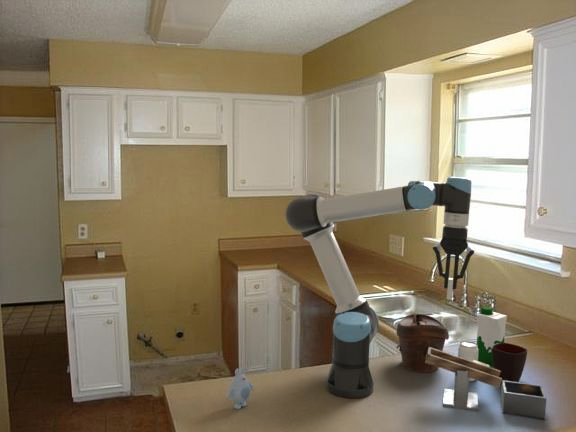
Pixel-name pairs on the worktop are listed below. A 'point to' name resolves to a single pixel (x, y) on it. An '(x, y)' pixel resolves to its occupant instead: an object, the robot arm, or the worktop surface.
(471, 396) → the stand
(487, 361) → the milk carton
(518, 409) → the tin
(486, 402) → the worktop surface
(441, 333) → the case
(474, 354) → the can
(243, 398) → the toy figure
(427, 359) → the lever
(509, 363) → the cup
